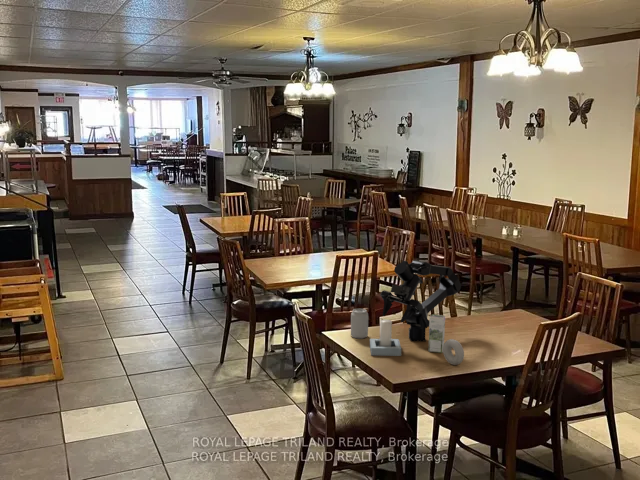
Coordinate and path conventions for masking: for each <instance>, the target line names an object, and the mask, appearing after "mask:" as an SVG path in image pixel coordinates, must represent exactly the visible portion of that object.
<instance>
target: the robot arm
mask: <svg viewBox="0 0 640 480" xmlns="http://www.w3.org/2000/svg"><path fill="white" fill-rule="evenodd" d="M393 269H394V273H395V274H396V275H397V277H399V279H400V280H401V281H403V283H402V284H399V285H396V284H392V286H391V288H390V291H388V290H385V289H384V290H382V291H381V293H380V294H379V295H380V298H382V300H383V309H382V316H383V317H385V316H386V315H387V314H388V312H389V310H390V309H391V308H392V306H393V303H394V302H396V303H400V304H403V305H405V306H406V310H405V311H404V313H403V314H402V317H401V319H400V322H401V323H403V322H405V321H406V324H407V325H409V327H408V339H409V340H410V342H426V341H427V340H426V331H427V328H429V319H428V315H429V313H430V312H431V311H432V310H434V309H435V308H436V307H437V306H438V305H439V304H440V303H442V301H444V300H445V299H446V298H447V297H451V296H454V295H456V294H458V293H459V292H460V290H461V289H462V284H461V281H460V279H459V277H458V276H457V275H456V274H455V273H454V271H453V269H452V268H451V267H449V266H445V265H441V266H440V265H432V264H431V263H429V262H426V261H422V260H418V259H417V260H416V259H414V260H412V261H411V263H409V262H408V261H407V260H402V261H401V262H400V263H398V264H397V265H396V266H395V267H394V268H393ZM431 274H432V275H438V276H439V279H438V280H439V288H438V289H437V290H436V291H435V292H433V293H432V294H431V295H430V296H428V297H427V298H426V299H425V300H423V302H420V300H417V299H413V296H415V295H416V289H417V287H418V286H419V284H421V285H423V283H424V282H423V278H422V276H429V275H431Z"/></svg>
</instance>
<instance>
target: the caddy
mask: <svg viewBox="0 0 640 480" xmlns="http://www.w3.org/2000/svg"><path fill="white" fill-rule="evenodd" d="M379 343H380V338H369V349H370V356H384V357H385V356H386V357H387V356H389V357H390V356H392V357H393V356H394V357H395V356H396V357H397V356H398V357H401V356H402V345H401V343H400V339H398V338H391V347H379Z"/></svg>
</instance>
